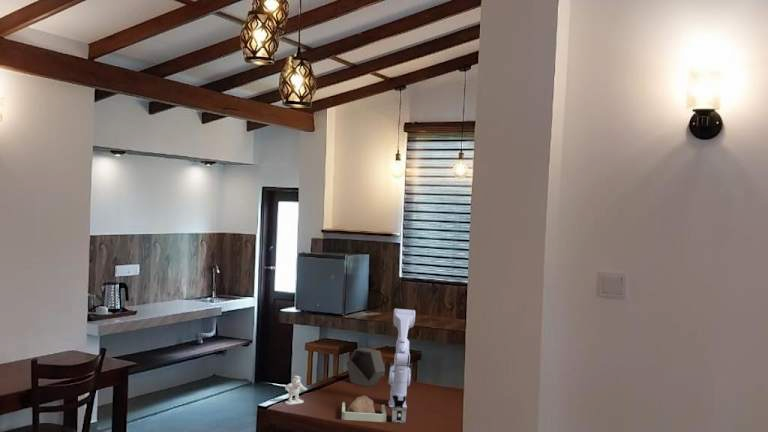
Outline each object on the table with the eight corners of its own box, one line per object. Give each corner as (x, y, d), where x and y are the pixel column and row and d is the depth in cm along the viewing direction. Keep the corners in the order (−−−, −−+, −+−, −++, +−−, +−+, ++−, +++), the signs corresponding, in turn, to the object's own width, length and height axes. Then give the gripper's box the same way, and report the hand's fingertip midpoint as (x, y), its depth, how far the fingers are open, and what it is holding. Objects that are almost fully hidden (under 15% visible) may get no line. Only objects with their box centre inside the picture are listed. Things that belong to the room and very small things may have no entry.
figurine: (290, 406, 302) (293, 378, 303) (282, 402, 307) (284, 375, 307) (307, 403, 309) (309, 376, 309) (298, 400, 313) (300, 373, 314)
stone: (370, 418, 301) (361, 396, 304) (383, 411, 295) (374, 389, 298) (349, 427, 292) (340, 404, 294) (363, 420, 286) (353, 397, 289)
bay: (341, 409, 304) (342, 402, 304) (383, 411, 305) (384, 404, 305) (341, 419, 287) (342, 412, 287) (386, 422, 288) (386, 415, 288)
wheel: (391, 417, 294) (392, 405, 294) (403, 418, 295) (404, 406, 295) (392, 421, 288) (393, 409, 288) (405, 422, 289) (406, 410, 289)
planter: (341, 370, 359) (360, 340, 353) (350, 369, 365) (370, 339, 359) (361, 394, 351) (381, 364, 344) (370, 392, 357) (390, 362, 350)
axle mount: (391, 420, 291) (392, 406, 291) (405, 421, 291) (406, 407, 292) (391, 422, 289) (393, 407, 289) (405, 422, 289) (406, 408, 290)
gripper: (389, 376, 303) (387, 408, 303) (392, 384, 288) (389, 417, 288) (406, 377, 303) (403, 409, 303) (409, 385, 289) (406, 418, 288)
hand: (397, 413), depth 295 cm, fingers closed
